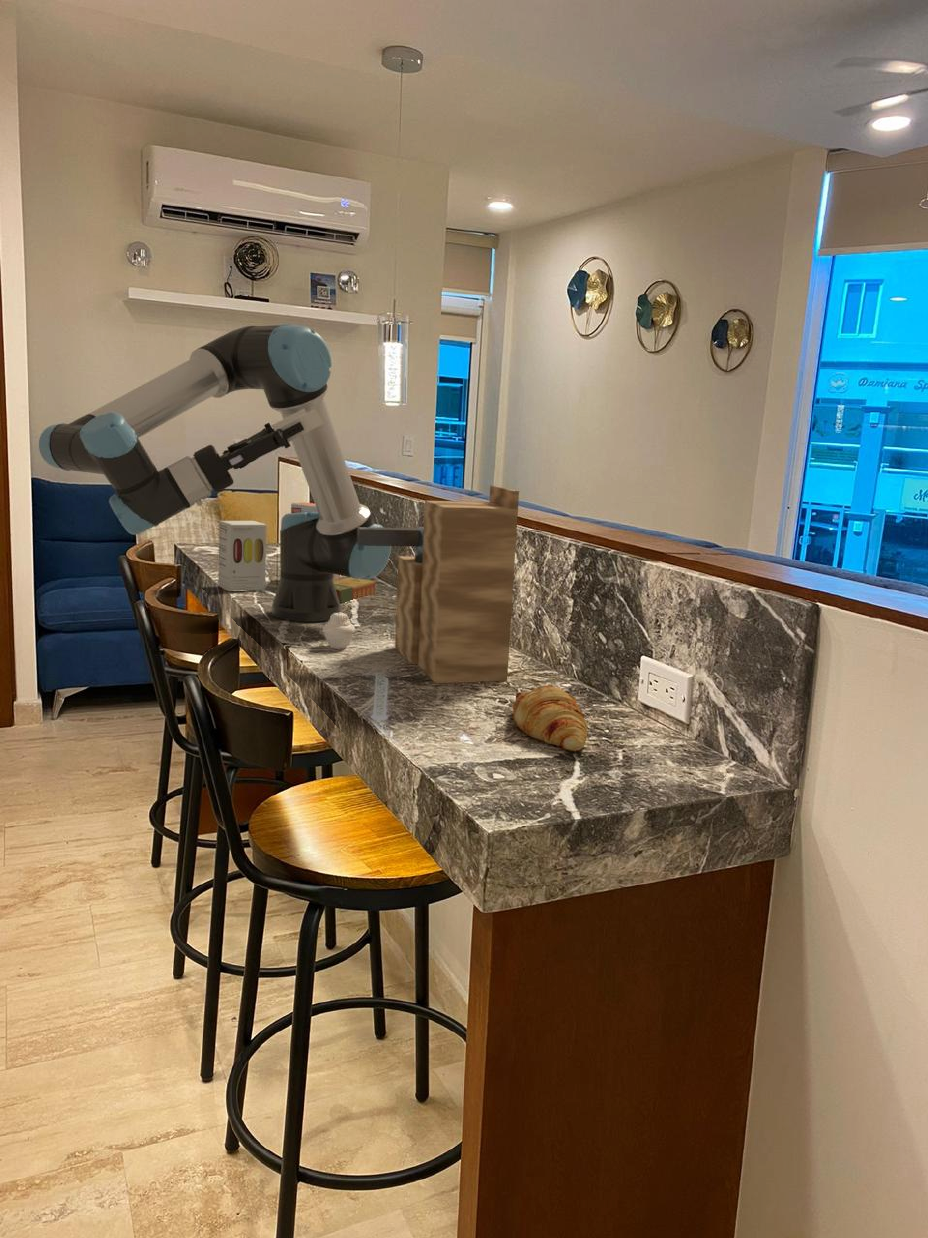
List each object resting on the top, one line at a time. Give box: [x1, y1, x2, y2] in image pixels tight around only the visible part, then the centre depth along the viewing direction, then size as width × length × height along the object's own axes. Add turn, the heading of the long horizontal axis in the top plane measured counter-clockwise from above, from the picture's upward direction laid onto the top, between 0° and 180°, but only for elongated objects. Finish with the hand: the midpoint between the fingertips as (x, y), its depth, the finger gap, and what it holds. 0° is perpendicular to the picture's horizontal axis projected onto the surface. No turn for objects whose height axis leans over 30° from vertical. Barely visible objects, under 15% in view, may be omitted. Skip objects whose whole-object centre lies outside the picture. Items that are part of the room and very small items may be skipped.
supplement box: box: [217, 520, 267, 592], centre depth 234 cm, size 10×9×17 cm
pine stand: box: [394, 485, 520, 684], centre depth 170 cm, size 26×14×33 cm, turn 17°
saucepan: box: [357, 526, 424, 563], centre depth 174 cm, size 10×21×6 cm, turn 106°
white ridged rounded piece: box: [322, 612, 356, 650], centre depth 181 cm, size 6×6×7 cm
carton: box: [334, 577, 376, 605], centre depth 230 cm, size 8×16×4 cm, turn 154°
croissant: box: [512, 684, 588, 752], centre depth 137 cm, size 21×10×8 cm, turn 20°
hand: (313, 415), depth 161 cm, fingers open, 13 cm apart
